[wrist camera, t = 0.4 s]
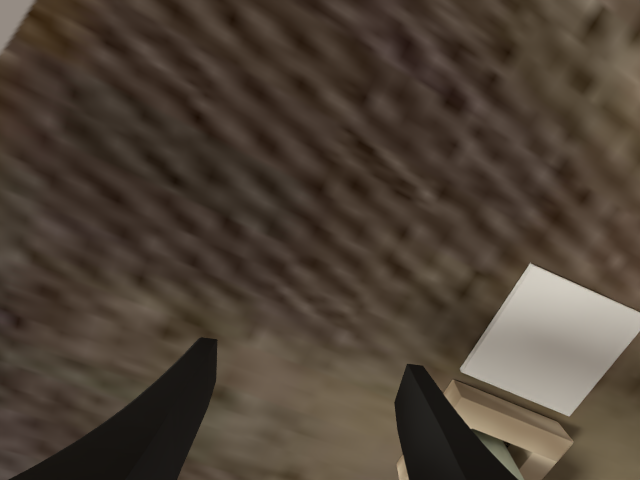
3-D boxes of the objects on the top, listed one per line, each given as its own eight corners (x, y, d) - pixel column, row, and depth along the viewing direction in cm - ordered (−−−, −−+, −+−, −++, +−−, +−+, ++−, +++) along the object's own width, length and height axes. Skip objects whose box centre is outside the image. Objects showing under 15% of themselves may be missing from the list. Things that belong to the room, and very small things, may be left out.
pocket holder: (493, 500, 29) (504, 524, 27) (396, 463, 28) (400, 485, 26) (558, 422, 26) (573, 442, 24) (452, 379, 25) (461, 396, 24)
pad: (565, 412, 26) (569, 416, 25) (459, 368, 25) (461, 372, 25) (645, 314, 23) (650, 317, 23) (530, 263, 22) (533, 265, 22)
